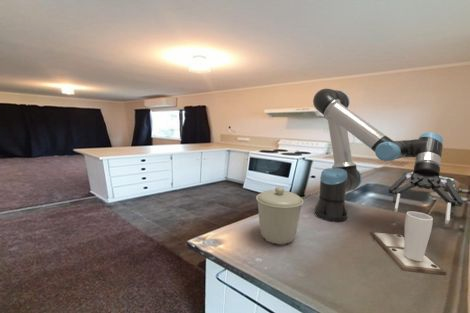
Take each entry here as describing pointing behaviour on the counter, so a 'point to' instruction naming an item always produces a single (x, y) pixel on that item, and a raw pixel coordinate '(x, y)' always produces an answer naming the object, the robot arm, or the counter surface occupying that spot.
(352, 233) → the counter surface
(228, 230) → the counter surface
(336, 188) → the robot arm
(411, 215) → the white cup
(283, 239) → the canister
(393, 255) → the coaster board
